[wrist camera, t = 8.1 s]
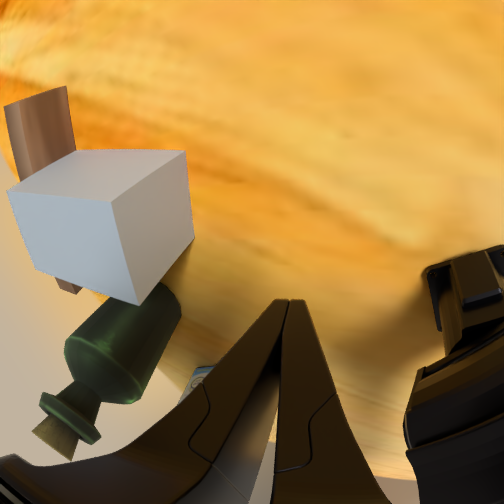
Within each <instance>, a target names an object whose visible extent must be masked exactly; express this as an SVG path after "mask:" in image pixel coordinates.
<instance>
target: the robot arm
mask: <svg viewBox="0 0 504 504" xmlns="http://www.w3.org/2000/svg"><path fill="white" fill-rule="evenodd" d="M502 251H504V245H499V246H496V247H493V248H489V249H486V250H483V251H479V252H476V253H473V254H470V255H466V256H463V257H460V258H456V259H453V260H450V261H447V262H443V263H440V264H436V265H433V266H430V267H428V268H427V270H426V275H427V280H428V284H429V289H430V293H431V298H432V303H433V308H434V313H435V319H436V324H437V329H438V331H440V332H442V333H443V340H444V348H445V357H444V358H443V359H441V360H439V361H437V362H435V363H433V364H431V365H429V366H427V367H426V366H424V367H422V368H421V369H419V370H418V371H417V374H416V378H415V382H414V385H413V389H412V392H411V395H410V399H409V402H408V405H407V408H406V411H405V415H404V420H403V431H404V438H405V442H406V445H407V447H408V450H406V456H407V458H408V460H409V462H410V463H411V465H412V467H413V470H414V473H415V476H416V479H417V484H418V489H419V499H420V504H504V252H503V253H502V254H500V253H501V252H502ZM432 272H436V273H435V274H431V273H432ZM277 407H278V418H277V434H276V448H275V449H276V450H275V464H274V476H273V486H272V494H271V500H270V504H392V503H391V502H390V501H389V500H388V499H387V497H386V496H385V494H384V493H383V491H382V490H381V488H380V487H379V485H378V483H377V481H376V479H375V478H374V476H373V474H372V472H371V470H370V468H369V466H368V464H367V462H366V460H365V458H364V456H363V454H362V452H361V450H360V448H359V446H358V444H357V442H356V440H355V438H354V435H353V433H352V431H351V429H350V427H349V424H348V422H347V419H346V417H345V414H344V411H343V409H342V406H341V403H340V400H339V397H338V394H337V391H336V388H335V385H334V382H333V379H332V376H331V373H330V370H329V368H328V365H327V362H326V359H325V356H324V353H323V350H322V347H321V344H320V341H319V338H318V336H317V333H316V330H315V327H314V324H313V321H312V319H311V316H310V313H309V310H308V307H307V305H306V302H305V300H303V299H291V300H290V301H289V300H288V299H275V300H273V302H272V303H271V304H270V305H269V306H268V307H267V309H266V310H265V311H264V312H263V313H262V314H261V315H260V317H259V318H258V319H257V320H256V321H255V322H254V323H253V324H252V326H251V327H250V328H249V329H248V330H247V331H246V332H245V334H244V335H243V336H242V337H241V338H240V339H239V340H238V341H237V342H236V344H235V345H234V346H233V347H232V348H231V349H230V350H229V351H228V352H227V354H226V355H225V356H224V357H223V358H222V359H221V360H220V361H219V362H218V363H217V364H216V366H215V367H214V368H213V369H212V370H211V371H210V372H209V373H208V374H207V375H206V376H205V377H204V379H203V380H202V382H200V383H199V384H198V385H197V386H196V387H195V388H194V389H193V390H192V391H191V392H190V393H189V394H188V395H187V396H186V397H185V398H184V399H183V400H182V401H181V402H180V403H179V404H178V405H177V406H176V407H175V408H173V409H172V410H171V411H170V412H169V413H168V414H167V415H165V416H164V417H163V418H162V419H161V420H159V421H158V422H157V423H155V424H154V425H153V426H152V427H151V428H149V429H148V430H147V431H145V432H144V433H143V434H142V435H141V436H139V437H138V438H137V439H135V440H134V441H133V442H131V443H130V444H128V445H127V446H125V447H124V448H122V449H120V450H118V451H116V452H113V453H110V454H107V455H103V456H99V457H94V458H90V459H86V460H80V461H75V462H70V463H65V464H60V465H53V466H34V465H32V464H30V463H29V462H27V461H26V460H24V459H22V458H21V457H20V456H18V455H16V454H10V455H6V456H3V457H0V504H248V503H249V502H248V501H249V500H250V497H251V494H252V491H253V488H254V485H255V481H256V479H257V475H258V472H259V469H260V466H261V462H262V459H263V456H264V452H265V449H266V446H267V443H268V439H269V436H270V432H271V429H272V425H273V422H274V418H275V415H276V411H277Z"/></svg>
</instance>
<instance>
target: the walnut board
mask: <svg viewBox="0 0 504 504" xmlns="http://www.w3.org/2000/svg"><path fill="white" fill-rule="evenodd" d="M4 111H5V117H6V122H7V128H8V133H9V137H10V142H11V147H12V151H13V155H14V159H15V163H16V167H17V171H18V175H19V178H20V182H21V181H23V180H24V179H26V178H28V177H29V176H31V175H33V174H34V173H36V172H38V171H40V170H41V169H43V168H45V167H46V166H48V165H50V164H52V163H54V162H55V161H57V160H59V159H61V158H63V157H65V156H66V155H68V154H70V153H72V152H74V151H76V147H75V142H74V136H73V131H72V125H71V119H70V112H69V105H68V98H67V90H66V86H63V87H59V88H55V89H52V90H48V91H45V92H42V93H39V94H36V95H33V96H31V97H28V98H25V99H22V100H20V101H17V102H14V103H12V104H9V105H7V106H4ZM55 279H56V281H57V283H58V285H59V287H60V289H63V290H65V291H68V292H71V293H73V294H77V293H78V292H79V291H80V290H81V289H82V288H83V287H81V286H78V285H75V284H73V283H70V282H67V281H65V280H62V279H59V278H57V277H55Z"/></svg>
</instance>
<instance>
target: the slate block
mask: <svg viewBox="0 0 504 504" xmlns="http://www.w3.org/2000/svg"><path fill="white" fill-rule="evenodd" d="M7 195H8V198H9V201H10V204H11V207H12V210H13V213H14V216H15V219H16V222H17V224H18V227H19V230H20V232H21V235H22V238H23V240H24V243H25V245H26V248H27V250H28V253H29V255H30V257H31V260H32V262H33V264H34V267H35V269H36V270H38V271H41V272H43V273H46V274H49V275H51V276H54V277H57V278H59V279H62V280H65V281H67V282H70V283H73V284H75V285H78V286H81V287H84V288H87V289H90V290H92V291H95V292H98V293H101V294H104V295H107V296H110V297H113V298H116V299H119V300H122V301H125V302H128V303H131V304H135V305H138V306H140V305H141V304H142V302H143V301H144V300H145V298H146V297H147V296H148V295H149V293H150V292H151V291H152V290H153V288H154V287H155V286H156V285H157V283H158V282H159V281H160V279H161V278H162V277H163V276H164V274H165V273H166V272H167V271H168V270H169V268H170V267H171V266H172V265H173V263H174V262H175V261H176V260H177V258H178V257H179V256H180V255H181V254H182V252H183V251H184V250H185V249H186V247H187V246H188V245H189V244H190V243H191V241H192V240H193V239H194V238H195V236H194V228H193V219H192V211H191V202H190V193H189V183H188V173H187V162H186V151H181V150H147V149H102V150H76V151H74V152H72V153H70V154H68V155H66V156H65V157H63V158H61V159H59V160H57V161H55V162H54V163H52V164H50V165H48V166H46V167H45V168H43V169H41V170H40V171H38V172H36V173H34V174H33V175H31V176H29V177H28V178H26V179H24V180H23V181H21V182H20V183H18V184H16V185H15V186H13V187H12V188H10V189H9V190H7Z"/></svg>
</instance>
